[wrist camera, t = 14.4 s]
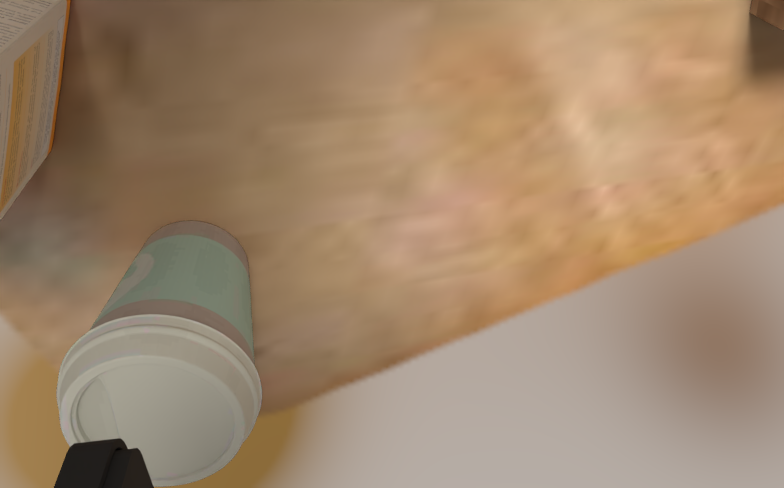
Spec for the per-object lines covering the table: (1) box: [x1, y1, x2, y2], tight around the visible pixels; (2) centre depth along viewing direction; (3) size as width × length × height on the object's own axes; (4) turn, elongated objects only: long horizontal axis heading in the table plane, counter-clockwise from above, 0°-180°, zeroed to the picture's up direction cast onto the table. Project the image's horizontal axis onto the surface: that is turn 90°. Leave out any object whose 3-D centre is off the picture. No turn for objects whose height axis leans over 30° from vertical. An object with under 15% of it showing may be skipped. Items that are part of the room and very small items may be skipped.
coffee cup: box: [57, 221, 262, 487], centre depth 36 cm, size 9×9×12 cm
